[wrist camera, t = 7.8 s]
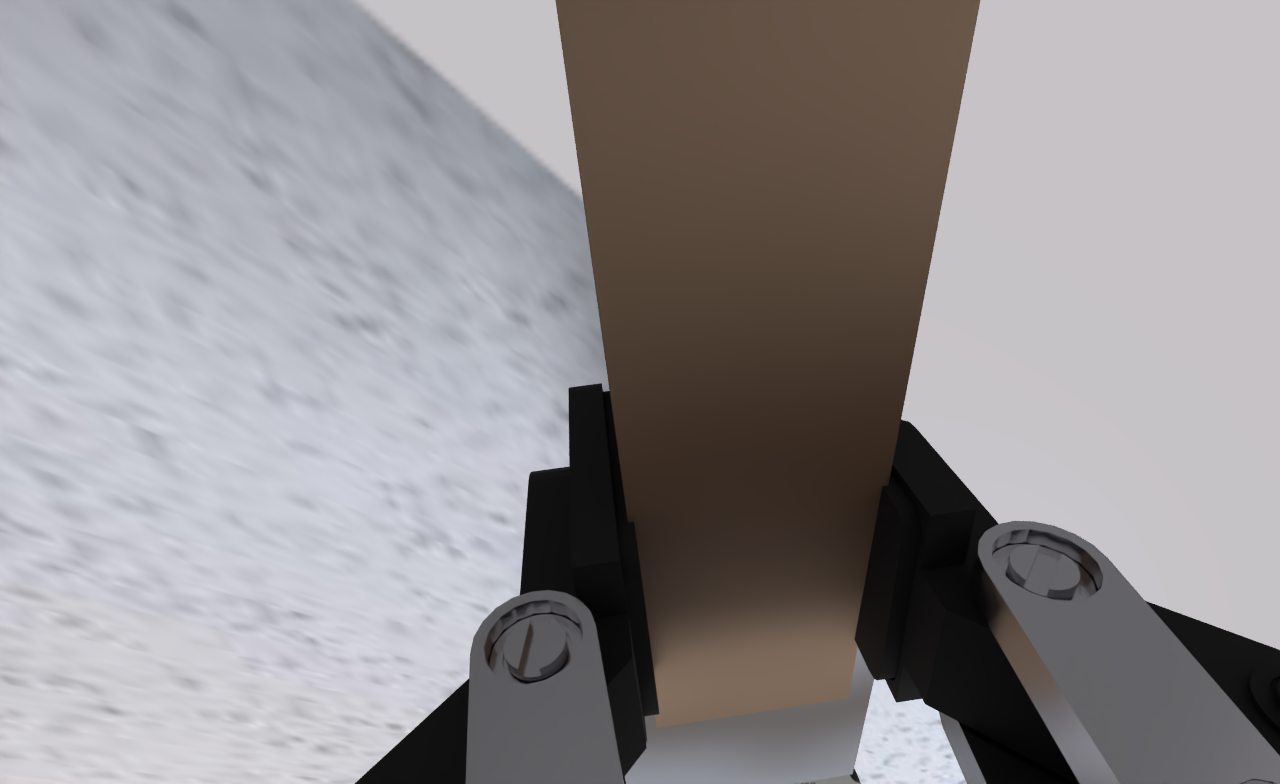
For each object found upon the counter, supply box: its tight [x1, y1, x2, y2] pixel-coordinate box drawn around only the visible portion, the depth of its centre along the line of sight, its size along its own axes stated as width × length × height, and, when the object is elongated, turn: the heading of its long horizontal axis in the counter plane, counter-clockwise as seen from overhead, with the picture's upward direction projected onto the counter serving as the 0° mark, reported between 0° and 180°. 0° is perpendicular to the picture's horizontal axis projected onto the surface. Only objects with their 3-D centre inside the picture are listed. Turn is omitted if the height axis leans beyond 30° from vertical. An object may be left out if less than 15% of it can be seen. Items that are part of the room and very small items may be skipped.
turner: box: [556, 0, 980, 784], centre depth 11 cm, size 19×7×4 cm, turn 5°
